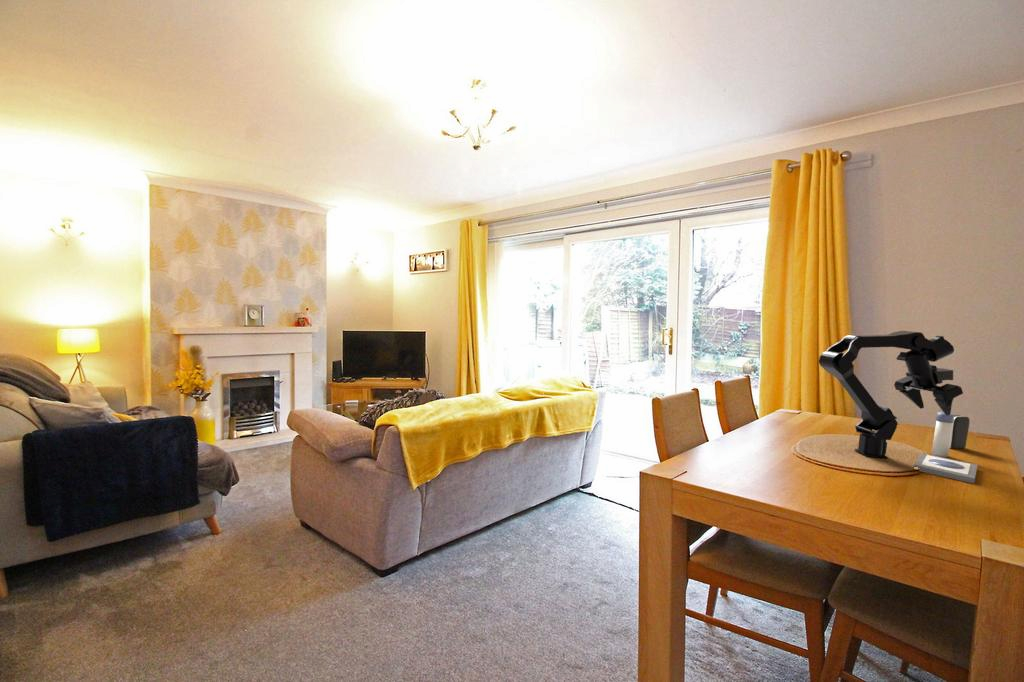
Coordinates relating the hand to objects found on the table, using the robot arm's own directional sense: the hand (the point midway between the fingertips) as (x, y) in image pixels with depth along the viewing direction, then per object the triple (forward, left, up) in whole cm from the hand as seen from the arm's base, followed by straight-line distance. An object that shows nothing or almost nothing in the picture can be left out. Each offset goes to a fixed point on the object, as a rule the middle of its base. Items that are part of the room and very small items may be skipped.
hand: (934, 411), depth 154 cm
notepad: (-4, -13, -15) cm, 20 cm away
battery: (+19, +15, -15) cm, 28 cm away
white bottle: (+6, +3, -15) cm, 16 cm away
